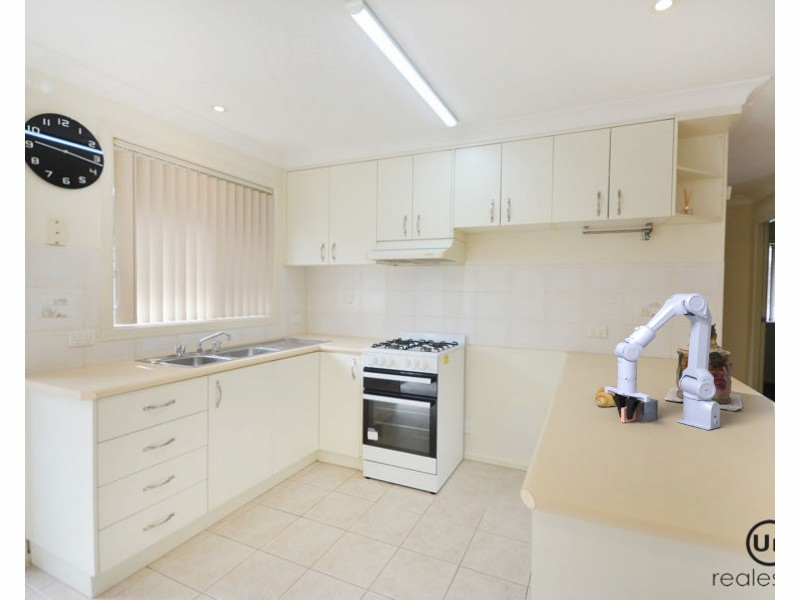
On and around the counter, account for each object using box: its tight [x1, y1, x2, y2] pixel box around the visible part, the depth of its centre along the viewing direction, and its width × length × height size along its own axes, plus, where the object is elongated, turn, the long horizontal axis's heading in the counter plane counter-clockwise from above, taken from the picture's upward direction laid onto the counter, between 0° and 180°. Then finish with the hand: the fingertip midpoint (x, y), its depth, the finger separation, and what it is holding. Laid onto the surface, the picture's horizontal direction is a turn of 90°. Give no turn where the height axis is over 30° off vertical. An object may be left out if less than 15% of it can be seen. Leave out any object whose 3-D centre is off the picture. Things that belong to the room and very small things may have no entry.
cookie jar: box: [664, 323, 743, 412], centre depth 164 cm, size 25×25×32 cm
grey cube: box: [627, 397, 659, 424], centre depth 140 cm, size 7×8×7 cm
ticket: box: [620, 407, 637, 424], centre depth 138 cm, size 1×13×5 cm, turn 119°
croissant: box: [595, 385, 617, 408], centre depth 160 cm, size 21×10×8 cm, turn 135°
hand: (626, 418), depth 136 cm, fingers open, 2 cm apart
